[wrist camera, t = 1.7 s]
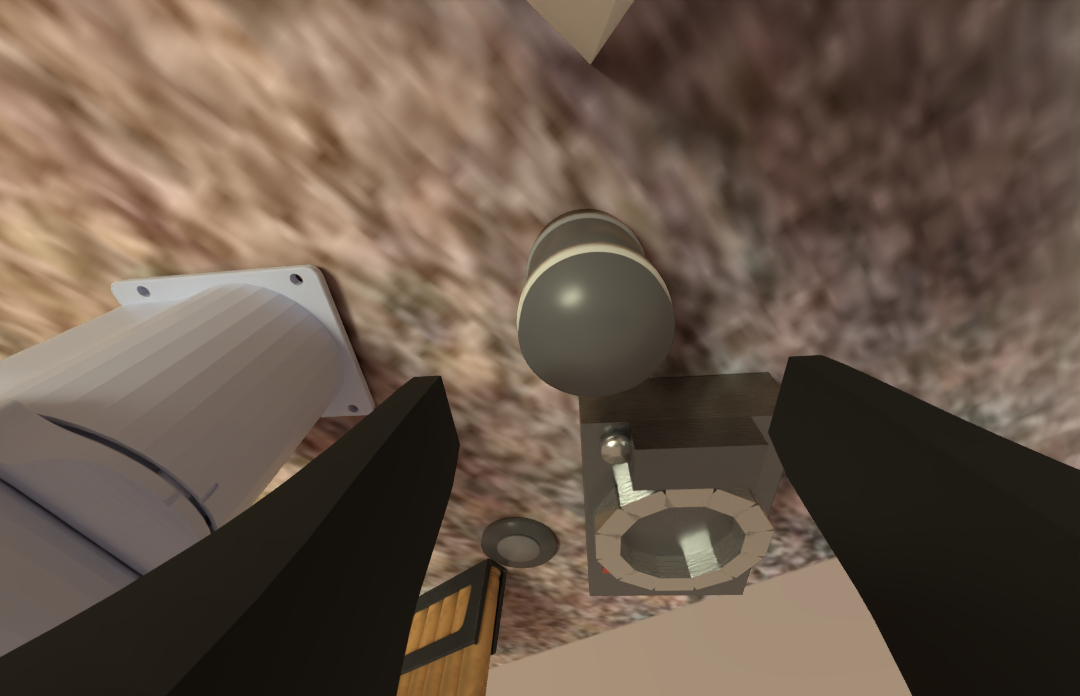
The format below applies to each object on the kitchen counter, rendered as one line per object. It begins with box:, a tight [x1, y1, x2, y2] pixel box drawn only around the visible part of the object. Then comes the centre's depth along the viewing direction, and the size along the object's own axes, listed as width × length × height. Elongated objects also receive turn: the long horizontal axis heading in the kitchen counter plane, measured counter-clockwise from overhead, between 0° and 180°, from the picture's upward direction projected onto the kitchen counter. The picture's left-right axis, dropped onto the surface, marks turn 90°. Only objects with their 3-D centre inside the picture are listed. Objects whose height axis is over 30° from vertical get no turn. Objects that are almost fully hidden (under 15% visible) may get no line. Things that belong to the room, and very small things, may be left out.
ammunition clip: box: [397, 559, 507, 696], centre depth 25 cm, size 11×2×12 cm, turn 134°
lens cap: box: [481, 517, 556, 568], centre depth 26 cm, size 5×5×1 cm
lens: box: [517, 209, 675, 397], centre depth 14 cm, size 5×5×6 cm
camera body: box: [579, 372, 784, 596], centre depth 21 cm, size 9×14×5 cm, turn 5°
